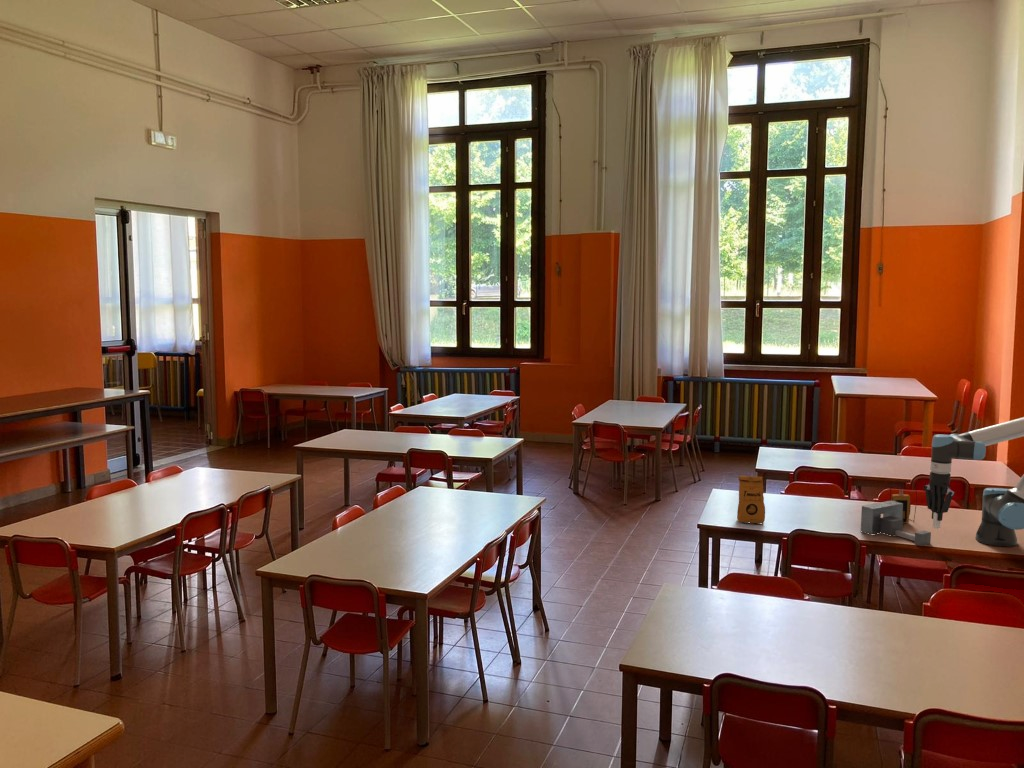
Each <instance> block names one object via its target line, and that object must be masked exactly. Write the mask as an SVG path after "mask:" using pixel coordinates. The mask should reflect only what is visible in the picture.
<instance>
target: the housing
mask: <svg viewBox="0 0 1024 768" xmlns="http://www.w3.org/2000/svg"><path fill="white" fill-rule="evenodd" d="M902 514H903V503H899V502H895V501H892V499H891V501H890V500H886V501H882V502H876V503H870V504H864V505H861V517H860V520H861V521H860V532H861V531H862V532H866V533H869V534H877V533H880V523H881V518H882V515H883V517H888V516H894V517H897V518H901V519H902ZM862 532H861V533H862ZM869 534H868V535H869ZM880 534H881V533H880Z"/></svg>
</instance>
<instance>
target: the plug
mask: <svg viewBox="0 0 1024 768" xmlns="http://www.w3.org/2000/svg"><path fill="white" fill-rule="evenodd" d="M903 524H904V523H903V519H901V518H897V517H894V516H888V517H882V516H881V523H880V532H881V533H885V534H888V535H891V536H893V535H897V536H896V537H900V538H904V539H906V540H910V541H913V542H914V543H913V544H914V545H918V546H920V547H921V546H925V545H926V544H927V545H930V544H931V537H932V535H931V534H932V532H930V531H927V530H920V531H916V532H914V534H913V533H911V532H910V533H909V532H906V531H904V530H903V526H904V525H903ZM881 533H880V534H881ZM893 537H894V536H893Z"/></svg>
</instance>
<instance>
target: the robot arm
mask: <svg viewBox="0 0 1024 768" xmlns="http://www.w3.org/2000/svg"><path fill="white" fill-rule="evenodd" d="M1022 437H1024V416H1023V417H1019V418H1015V419H1012V420H1008V421H1004V422H1001V423H997V424H994V425H989V426H986V427H982V428H979V429H974V430H972V431H967V432H964V433H960V434H959V433H951V434H945V433H944V434H943V433H942V434H939V433H938V434H934V435H933V437H932V441H931V455H930V456H931V457H930V472H929V483H928V484H926V485H923V490H924V492H925V493H924V494H925V499H926V506H927V509H928V510H930V511H931V519H932V528H933V529H940V528H941V521H943V515H944V513H948V511H949V509H950V506H951V502H952V500H953V497H954V496H955V494H956V492H955V491H953V490H952V489H951V486H950V482H951V473H952V463H953V462H952V460H953V459H954V460H956V459H957V460H958V459H959V460H973V461H975V460H977V461H978V460H980V461H981V460H983V459H984V458H985V457H986V452H987V449H986V447H987V446H991V445H996V444H999V443H1000V444H1001V443H1003V442H1006V441H1007V442H1008V441H1010V440H1014V439H1018V438H1022ZM981 507H982V508H981V522H980V524H979V526H978V529H977V531H976V533H975V540H976V541H977V542H979V543H982V544H985V545H988V544H989V545H988V546H993V545H995V546H994V547H1001V546H1011V547H1016V546H1017V544H1018V537H1017V534H1016V533H1017V532H1016V531H1017V530H1018V531H1020V530H1024V473H1023V474H1022V476H1021V477H1020V479H1019V480H1018V481H1017V483H1016V485H1015V486H1014V487H1013V488H1002V487H986V488H984V489H983V494H982V503H981ZM1015 545H1016V546H1015Z"/></svg>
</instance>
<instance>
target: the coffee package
mask: <svg viewBox="0 0 1024 768" xmlns="http://www.w3.org/2000/svg"><path fill="white" fill-rule="evenodd" d="M763 479H764V478H763V476H752V475H751V476H750V475H749V476H748V475H738V481H739V485H738V503H737V504H738V505H737V513H736V520H737V521H738V523H742V522H750V523H749V524H751V523H763V524H764V522H765V519H766V506H765V502H764V501H765V500H764V499H765V497H764V482H763Z"/></svg>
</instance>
